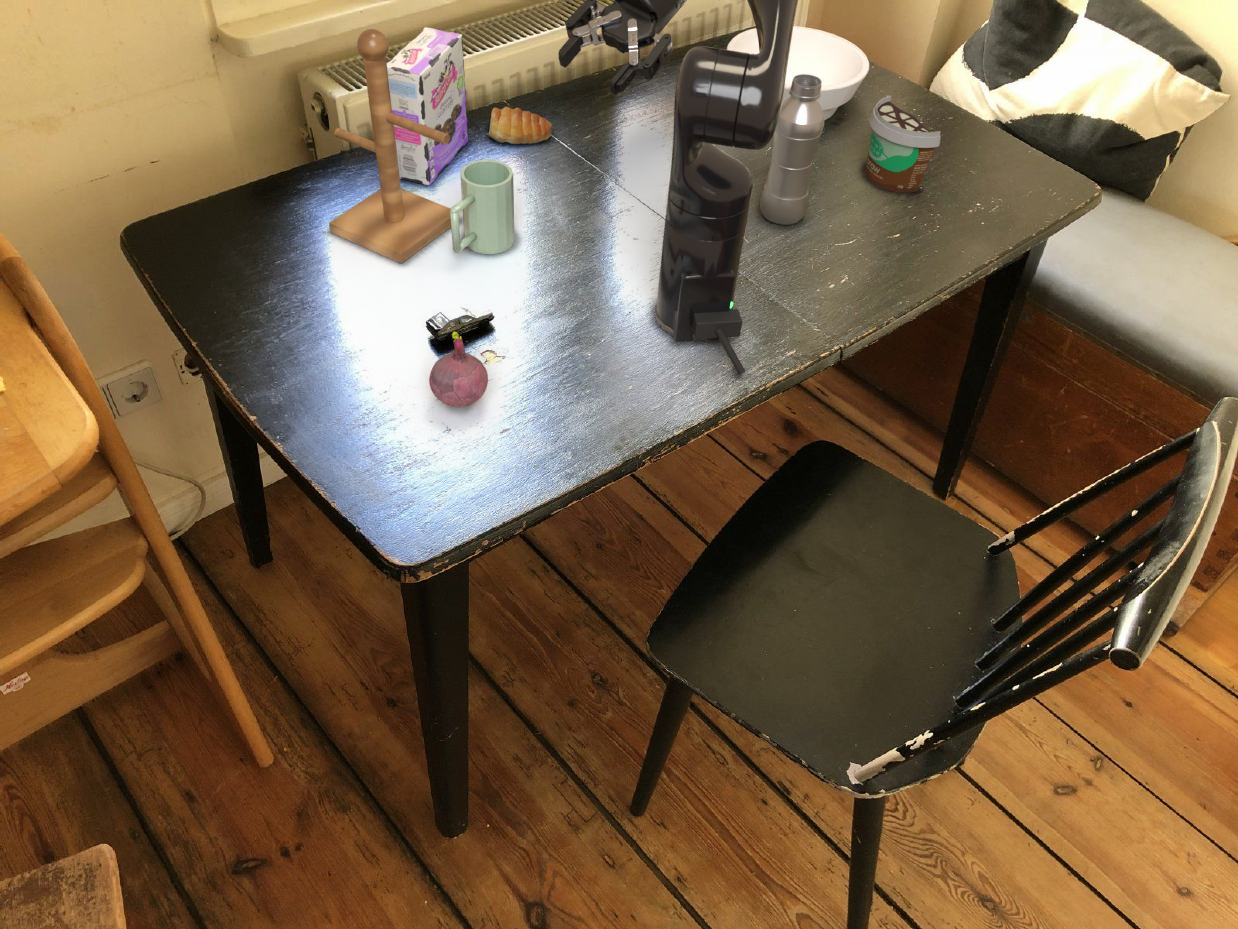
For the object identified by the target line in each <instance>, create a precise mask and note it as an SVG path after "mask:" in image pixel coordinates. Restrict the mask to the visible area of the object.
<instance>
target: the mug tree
mask: <svg viewBox="0 0 1238 929" xmlns="http://www.w3.org/2000/svg"><path fill="white" fill-rule="evenodd" d="M356 47H357V51H358V53H359V55H360V56H361V58H362V61H363V67H364V75H365V83H366V89H367V97H368V104H369V112H370V120H371V126H372V135H373V140H370V139H369V138H366V137H363V136H361V135H358V134H356V133H354V132H351V131H348V130H345V129H343V128H340V127H337V128H335V130H334V136H335V138H338V139H340V140H342V141H345V142H348V143H350V144H352V145H355V146H358V147H360V148H363V149H365V150H367V151H370V152H372V153H375V157H376V164H377V172H378V179H379V180H378V181H379V187H380V188H379V189H377V190H376V191H375V192H373V193H372V194H370V195H369V196H367V197H366V198H364V199H363V200H361V201H359V202H358V203H356V204H355V205H353V206H352V207H351V208H349V209H347V210H346V211H344V212H342V213H341V214H340V215H338V216H337V217H335V218H334V219H332V220H331V221H329V222H328V225H329V230H330V233H331V234H334V235H336V236H338V237H340V238H343V239H345V240H347V241H349V242H352V243H354V244H356V245H358V246H361V247H363V248H365V249H368V250H370V251H372V252H374V253H376V254H379V255H380V256H381V255H382V256H384V257H386V258H388V259H390V260H393V261H395V262H397V263H399V264H403V263H405V262H406V261H407V260H408V259H410V258H412V257H413V256H414V255H416V254H417V253H418V252H420V251H421V250H422V249H424V248H425V247H426V246H428V245H429V244H430V243H431V242H433V241H435V239H437V238H438V237H439V236H441V235H442V234H444V233H445V232H447V231H448V230H449V229H451V218H450V209H451V208H452V207H451V208H450V207H448V206H446V205H444V204H441V203H438V202H436V201H433V200H431V199H429V198H426V197H424V196H422V195H419V194H417V193H414V192H411V191H409V190H406V189H404V188H402V184H401V178H400V174H399V166H398V157H397V148H396V140H395V131H394V125H396V126H399V127H401V128H404V129H407V130H409V131H412V132H414V133H417V134H420V135H422V136H425V137H427V138H430V139H433V140H435V141H438V142H440V143H443V144H448V142H449V140H450V136H449V135H448V134H446V133H443V132H441V131H438V130H435V129H433V128H430V127H427V126H425V125H422V124H419V123H417V122H414V121H412V120H409V119H406V118H404V117H401V116H398V115H396V114H393V113H392V105H391V97H390V88H389V80H388V71H387V62H388V61H387V56H388V54H389V51H390V44H389V40H388V38H387V37H386V35H385V34H384V33H383V32H382V31H380V30H379V29H376V28H368V29H365V30H363V31H362V32H361V33H359V36H358V38H357V41H356ZM459 214H460V213H458V215H459Z"/></svg>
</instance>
